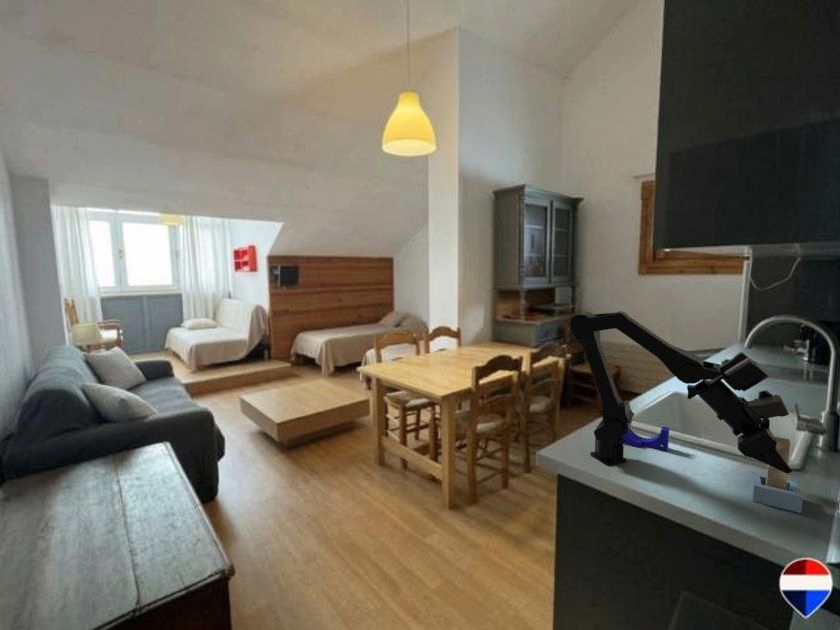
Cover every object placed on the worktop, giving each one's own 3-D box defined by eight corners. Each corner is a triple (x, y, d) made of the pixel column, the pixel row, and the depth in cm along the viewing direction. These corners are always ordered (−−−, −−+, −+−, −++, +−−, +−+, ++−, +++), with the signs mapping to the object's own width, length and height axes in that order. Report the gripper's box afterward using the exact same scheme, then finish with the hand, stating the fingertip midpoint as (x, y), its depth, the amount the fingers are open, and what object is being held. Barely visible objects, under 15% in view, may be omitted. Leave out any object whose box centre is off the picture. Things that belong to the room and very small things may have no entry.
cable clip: (616, 442, 115) (617, 422, 114) (620, 437, 118) (621, 417, 117) (665, 454, 107) (666, 433, 106) (668, 448, 111) (669, 427, 110)
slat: (765, 496, 86) (771, 439, 85) (765, 492, 88) (770, 435, 86) (784, 501, 84) (790, 442, 83) (783, 496, 86) (789, 439, 84)
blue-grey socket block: (752, 501, 86) (754, 485, 85) (750, 486, 91) (751, 471, 91) (801, 513, 81) (803, 497, 81) (795, 496, 87) (797, 481, 86)
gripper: (764, 393, 78) (839, 463, 73) (756, 372, 93) (817, 428, 88) (711, 423, 83) (777, 490, 78) (712, 398, 98) (767, 452, 93)
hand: (786, 463), depth 84 cm, fingers open, 9 cm apart
